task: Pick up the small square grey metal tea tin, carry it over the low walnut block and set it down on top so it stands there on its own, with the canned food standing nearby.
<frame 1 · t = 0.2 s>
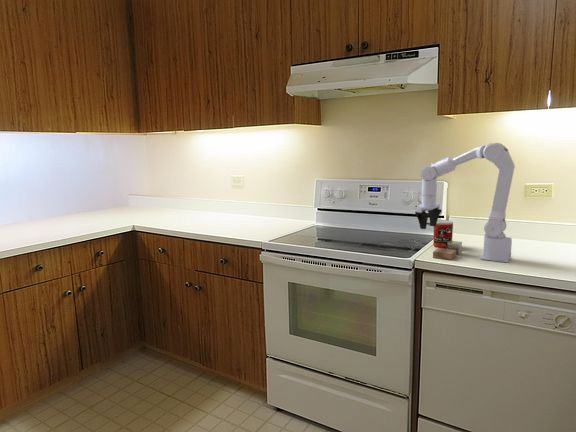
hand: (428, 227, 174), 10 cm above the worktop, tool pointing down, fingers open, 7 cm apart
walnut block: (444, 256, 165), on the worktop
canned food: (442, 246, 182), on the worktop
tea tin: (454, 253, 169), on the worktop
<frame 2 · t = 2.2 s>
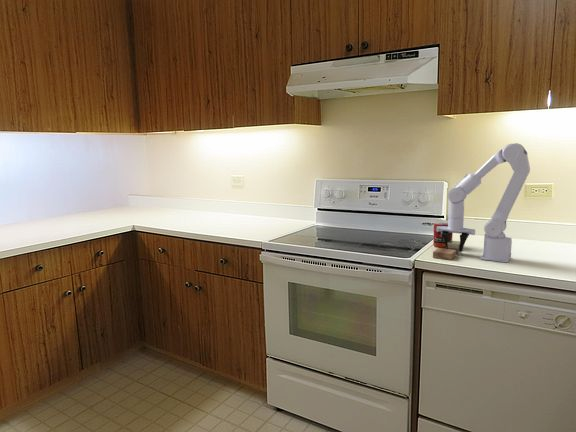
hand: (454, 250, 169), 1 cm above the worktop, tool pointing down, fingers closed on tea tin, 4 cm apart
tea tin: (454, 253, 169), on the worktop, touching gripper
everything else where it was.
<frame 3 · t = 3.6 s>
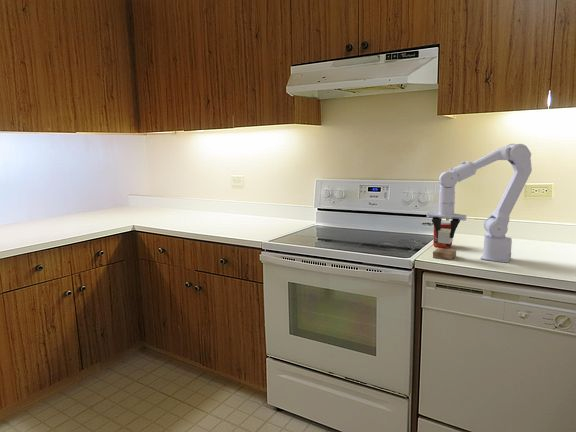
hand: (445, 237, 164), 8 cm above the worktop, tool pointing down, fingers closed on tea tin, 4 cm apart
tea tin: (445, 241, 164), point 6 cm above the worktop, touching gripper
everything else where it was.
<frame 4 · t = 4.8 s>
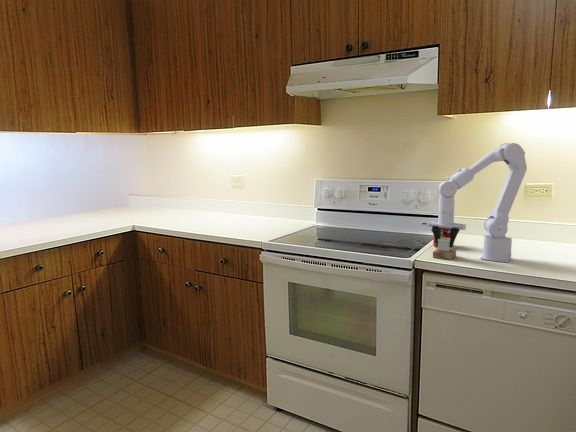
hand: (444, 246, 164), 4 cm above the worktop, tool pointing down, fingers closed on tea tin, 4 cm apart
tea tin: (444, 250, 165), point 3 cm above the worktop, touching gripper, walnut block
everything else where it was.
when the fingers open (4 cm above the worktop, at t = 5.5 s): tea tin stays where it is, resting on walnut block.
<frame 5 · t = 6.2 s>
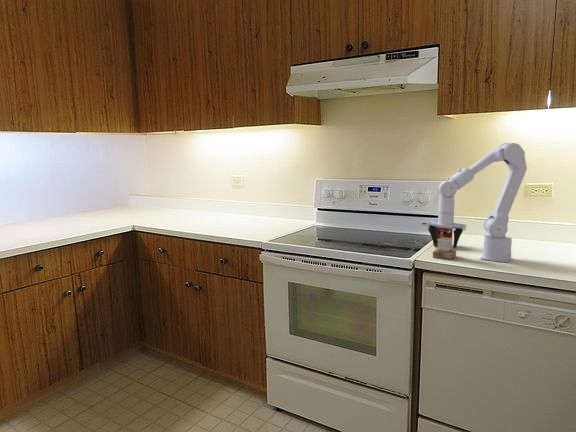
hand: (444, 246, 164), 4 cm above the worktop, tool pointing down, fingers open, 7 cm apart
tea tin: (444, 250, 165), point 2 cm above the worktop, touching walnut block
everything else where it was.
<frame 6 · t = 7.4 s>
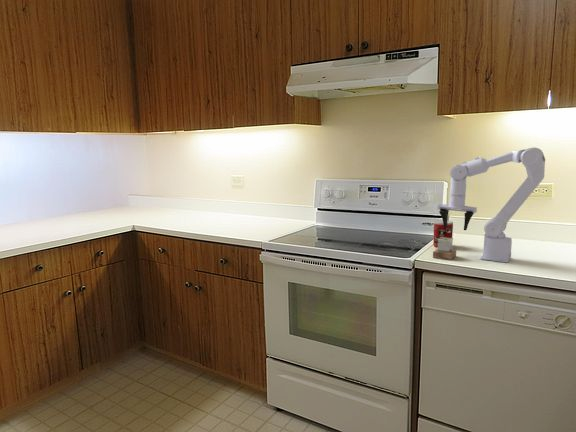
hand: (455, 228, 168), 10 cm above the worktop, tool pointing down, fingers open, 7 cm apart
nothing on the worktop moved.
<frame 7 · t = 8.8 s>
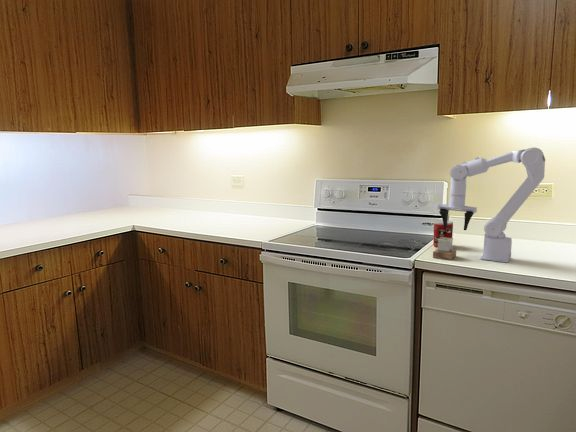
hand: (455, 228, 168), 10 cm above the worktop, tool pointing down, fingers open, 7 cm apart
nothing on the worktop moved.
at the end: tea tin 0.4 cm off-centre on the walnut block, point 2.5 cm above the walnut block's base; tea tin tilted 0°; the gripper is holding nothing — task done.
